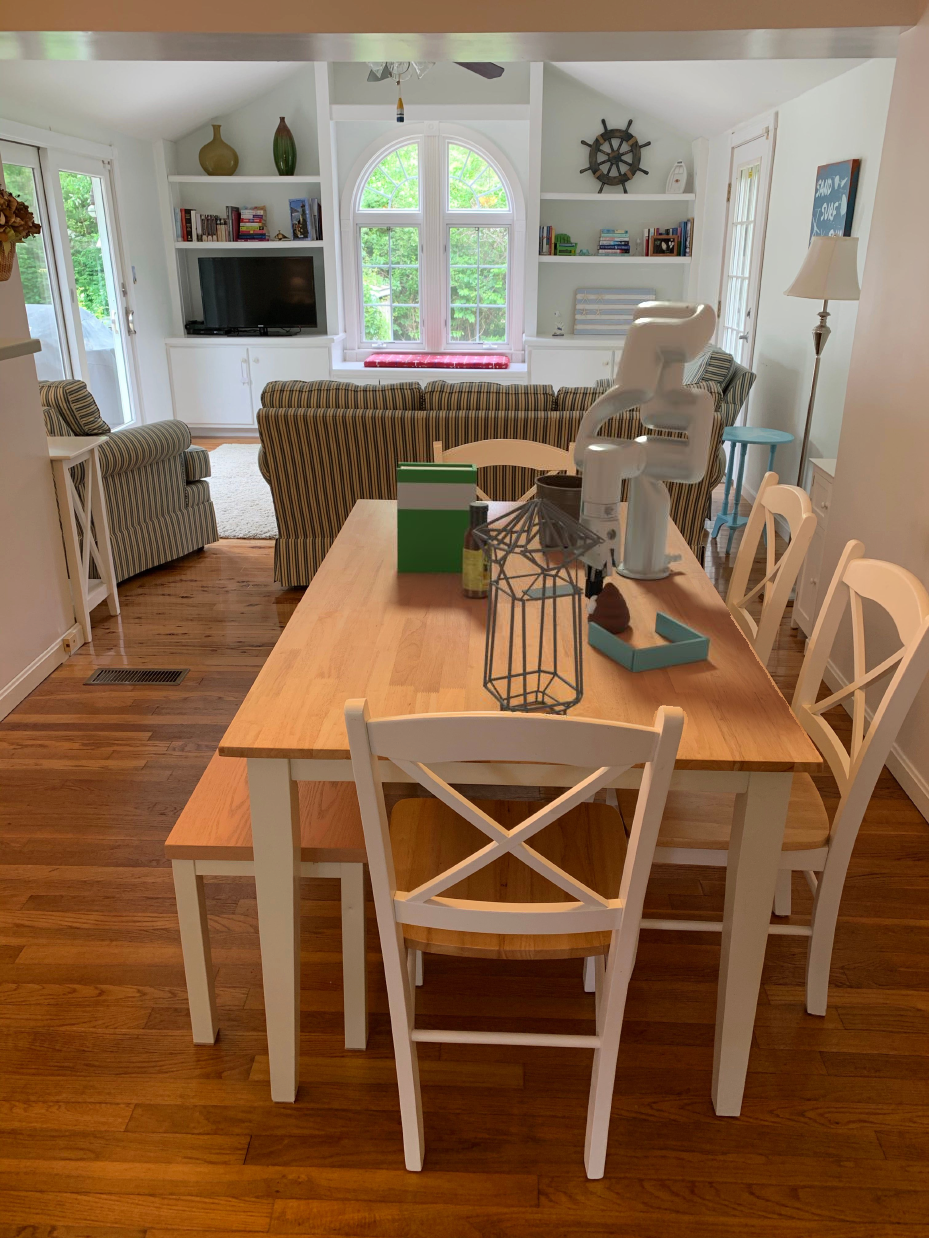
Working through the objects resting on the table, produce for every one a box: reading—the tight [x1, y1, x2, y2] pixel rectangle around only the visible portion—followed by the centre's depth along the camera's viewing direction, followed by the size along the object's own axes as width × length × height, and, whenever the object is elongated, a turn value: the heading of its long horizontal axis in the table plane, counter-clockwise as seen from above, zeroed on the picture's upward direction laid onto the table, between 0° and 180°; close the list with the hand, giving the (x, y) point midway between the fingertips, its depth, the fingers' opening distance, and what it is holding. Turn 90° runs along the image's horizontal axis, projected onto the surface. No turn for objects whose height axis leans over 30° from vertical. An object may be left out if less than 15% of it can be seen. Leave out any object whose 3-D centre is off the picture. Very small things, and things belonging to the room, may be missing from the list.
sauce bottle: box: [461, 501, 493, 599], centre depth 198 cm, size 6×6×20 cm
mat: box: [521, 583, 585, 598], centre depth 204 cm, size 12×6×1 cm, turn 115°
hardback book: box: [396, 461, 478, 575], centre depth 214 cm, size 18×7×24 cm, turn 91°
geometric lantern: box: [471, 497, 605, 716], centre depth 142 cm, size 16×16×35 cm
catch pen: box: [587, 611, 711, 673], centre depth 173 cm, size 16×15×4 cm
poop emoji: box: [585, 581, 631, 634], centre depth 184 cm, size 10×8×9 cm
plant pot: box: [534, 474, 583, 548], centre depth 238 cm, size 16×16×16 cm
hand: (593, 597), depth 189 cm, fingers closed
